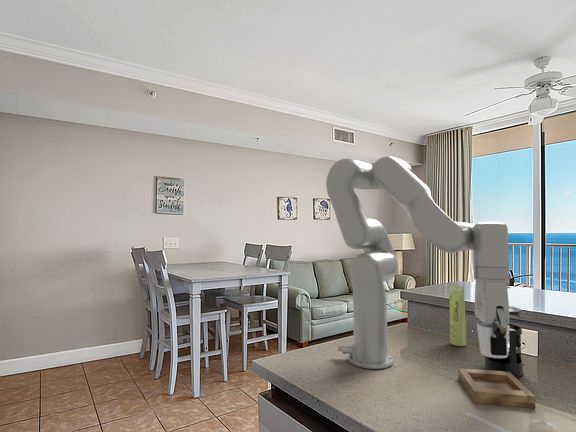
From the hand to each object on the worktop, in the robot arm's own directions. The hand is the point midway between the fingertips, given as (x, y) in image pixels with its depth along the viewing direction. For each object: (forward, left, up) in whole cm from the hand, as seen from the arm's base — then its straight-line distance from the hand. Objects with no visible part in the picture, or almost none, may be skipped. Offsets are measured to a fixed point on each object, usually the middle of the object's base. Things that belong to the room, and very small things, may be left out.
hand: (493, 349), depth 88 cm
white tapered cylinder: (0, 0, -1) cm, 1 cm away
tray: (0, 0, -10) cm, 10 cm away
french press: (+7, +15, -10) cm, 19 cm away
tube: (+1, +37, -10) cm, 38 cm away
